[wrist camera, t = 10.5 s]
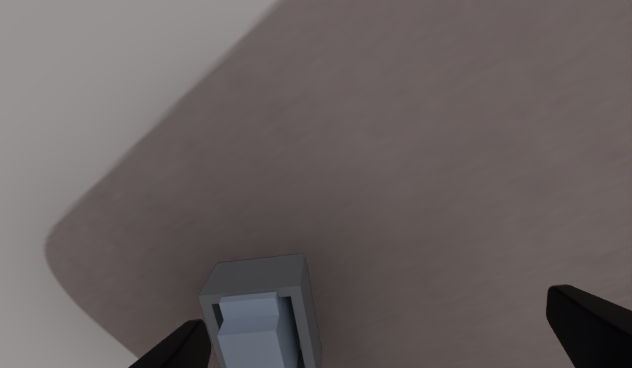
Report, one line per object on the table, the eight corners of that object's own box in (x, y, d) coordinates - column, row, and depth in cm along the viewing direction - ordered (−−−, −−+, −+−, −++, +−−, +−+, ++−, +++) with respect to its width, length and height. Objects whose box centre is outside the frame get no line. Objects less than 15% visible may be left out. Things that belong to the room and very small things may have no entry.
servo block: (302, 353, 23) (296, 419, 18) (259, 357, 23) (243, 423, 19) (283, 261, 20) (271, 311, 16) (236, 267, 21) (211, 317, 16)
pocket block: (321, 349, 23) (320, 393, 20) (242, 356, 24) (229, 399, 20) (304, 253, 21) (300, 285, 18) (217, 262, 21) (198, 295, 18)
